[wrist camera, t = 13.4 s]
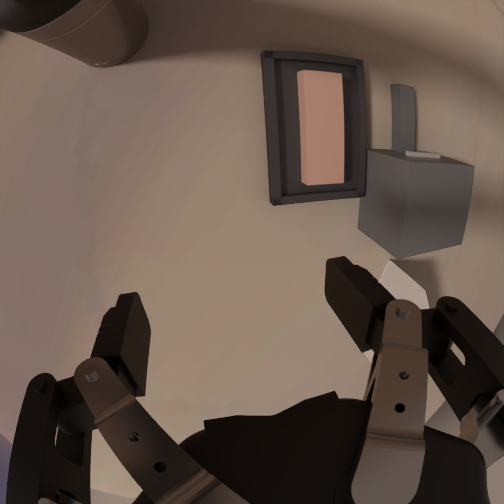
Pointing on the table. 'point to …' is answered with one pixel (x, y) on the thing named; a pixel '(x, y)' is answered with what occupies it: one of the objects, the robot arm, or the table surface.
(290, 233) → the table surface
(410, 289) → the white angular block
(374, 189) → the dispenser
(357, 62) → the tray
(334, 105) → the pink block
